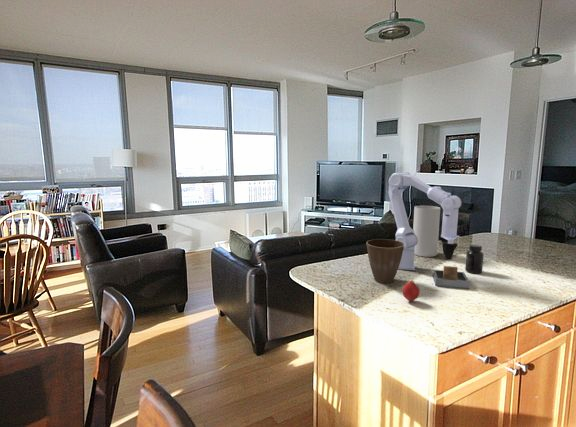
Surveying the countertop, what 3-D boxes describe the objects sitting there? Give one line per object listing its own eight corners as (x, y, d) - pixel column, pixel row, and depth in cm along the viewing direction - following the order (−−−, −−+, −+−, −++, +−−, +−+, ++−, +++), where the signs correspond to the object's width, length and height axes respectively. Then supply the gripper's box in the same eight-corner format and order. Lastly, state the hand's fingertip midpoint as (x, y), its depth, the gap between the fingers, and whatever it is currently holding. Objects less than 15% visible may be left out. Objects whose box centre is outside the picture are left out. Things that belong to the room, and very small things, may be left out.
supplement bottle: (484, 274, 155) (486, 247, 153) (467, 273, 156) (469, 247, 154) (479, 269, 161) (481, 244, 159) (463, 268, 163) (465, 243, 161)
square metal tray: (435, 286, 141) (435, 278, 141) (432, 276, 153) (433, 269, 152) (468, 289, 138) (469, 281, 137) (463, 279, 149) (463, 272, 149)
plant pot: (401, 288, 139) (403, 249, 136) (362, 284, 144) (364, 245, 141) (403, 276, 152) (404, 240, 150) (368, 273, 158) (369, 237, 155)
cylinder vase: (439, 253, 190) (442, 206, 186) (434, 258, 179) (437, 209, 175) (415, 249, 196) (417, 205, 192) (409, 255, 186) (411, 207, 182)
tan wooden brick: (443, 281, 145) (444, 266, 144) (442, 279, 146) (443, 265, 146) (456, 282, 144) (457, 268, 143) (456, 281, 145) (457, 266, 144)
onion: (399, 298, 129) (400, 277, 128) (414, 298, 129) (415, 277, 128) (405, 305, 123) (406, 283, 122) (421, 304, 124) (423, 282, 122)
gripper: (463, 228, 139) (460, 262, 141) (457, 222, 153) (455, 252, 155) (443, 227, 141) (441, 260, 143) (440, 221, 155) (437, 251, 157)
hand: (447, 256), depth 149 cm, fingers open, 7 cm apart
